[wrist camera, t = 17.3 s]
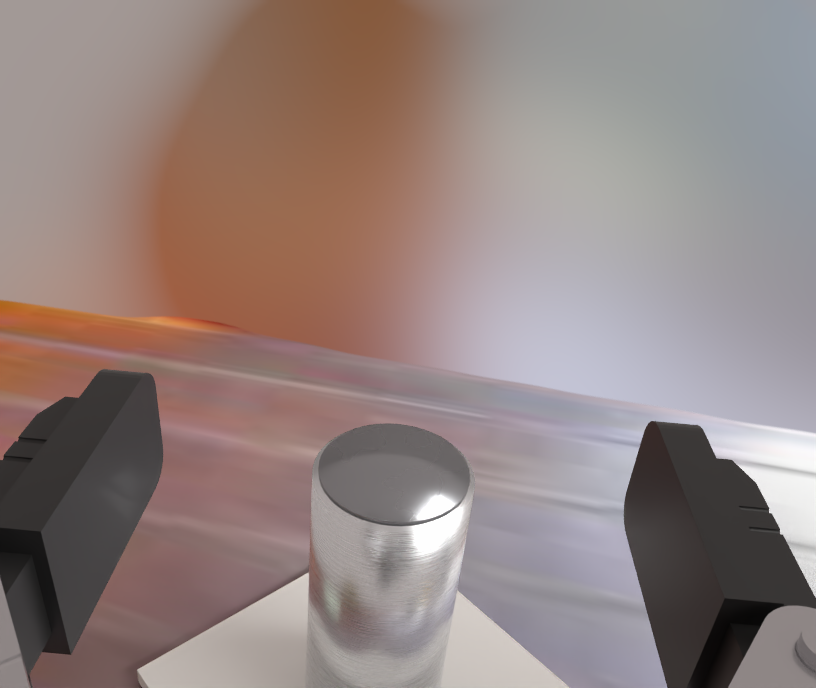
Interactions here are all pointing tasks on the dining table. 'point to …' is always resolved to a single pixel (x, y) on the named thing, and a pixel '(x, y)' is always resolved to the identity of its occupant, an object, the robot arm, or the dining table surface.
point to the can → (385, 557)
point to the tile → (287, 641)
